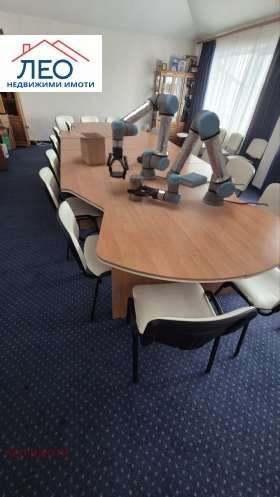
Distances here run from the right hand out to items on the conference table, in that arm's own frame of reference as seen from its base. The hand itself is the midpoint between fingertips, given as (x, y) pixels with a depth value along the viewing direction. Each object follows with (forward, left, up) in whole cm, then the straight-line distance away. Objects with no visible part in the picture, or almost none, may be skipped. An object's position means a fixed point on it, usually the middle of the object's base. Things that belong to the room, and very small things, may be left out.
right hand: (130, 188), depth 164 cm
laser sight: (-18, -93, -7) cm, 94 cm away
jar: (-4, +2, -7) cm, 8 cm away
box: (+40, -89, -7) cm, 98 cm away
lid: (+10, -8, +8) cm, 15 cm away
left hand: (+10, -8, +5) cm, 14 cm away
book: (-57, -38, -7) cm, 69 cm away
